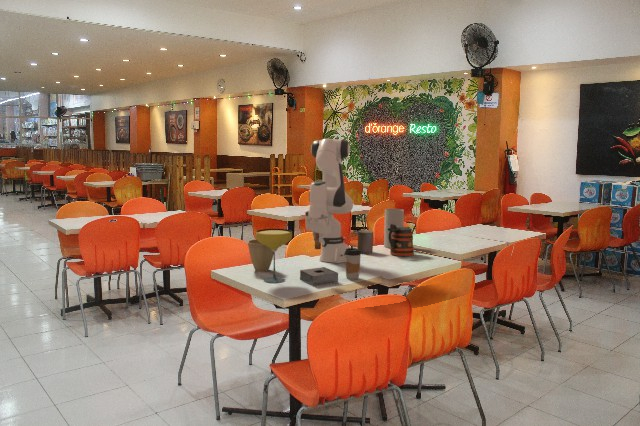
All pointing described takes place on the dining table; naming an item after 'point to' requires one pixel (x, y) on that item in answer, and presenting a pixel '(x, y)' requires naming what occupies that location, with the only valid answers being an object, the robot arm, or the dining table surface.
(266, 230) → the cocktail glass
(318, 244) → the walnut pin
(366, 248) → the pillar candle
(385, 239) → the cylinder vase
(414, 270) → the dining table surface
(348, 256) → the coffee cup
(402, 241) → the beer stein
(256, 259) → the plant pot
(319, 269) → the nut block
